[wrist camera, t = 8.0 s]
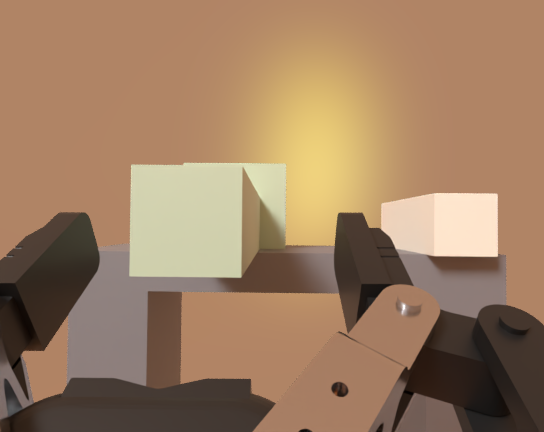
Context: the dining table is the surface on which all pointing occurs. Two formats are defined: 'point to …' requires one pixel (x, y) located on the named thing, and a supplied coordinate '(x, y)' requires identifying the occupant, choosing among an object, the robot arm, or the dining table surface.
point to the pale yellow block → (204, 217)
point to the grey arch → (257, 278)
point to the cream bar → (444, 224)
